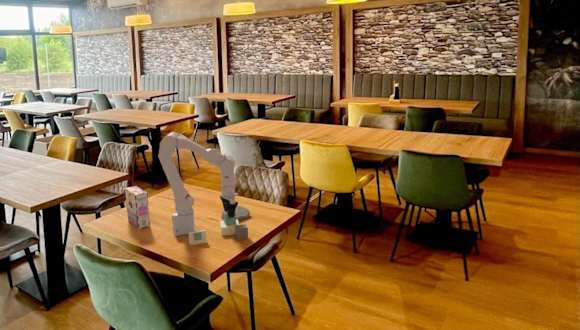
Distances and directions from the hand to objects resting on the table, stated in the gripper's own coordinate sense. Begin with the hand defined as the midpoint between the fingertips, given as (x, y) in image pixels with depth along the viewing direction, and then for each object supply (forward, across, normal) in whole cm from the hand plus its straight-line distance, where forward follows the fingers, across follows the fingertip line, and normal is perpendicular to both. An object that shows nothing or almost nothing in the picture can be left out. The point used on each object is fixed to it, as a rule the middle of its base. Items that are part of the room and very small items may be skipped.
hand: (229, 214), depth 205 cm
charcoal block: (+8, -8, -3) cm, 12 cm away
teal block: (+4, 0, 0) cm, 4 cm away
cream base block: (+8, 0, 0) cm, 8 cm away
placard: (+8, -7, +15) cm, 19 cm away
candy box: (+8, +24, +37) cm, 45 cm away
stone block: (+8, +15, -7) cm, 19 cm away
